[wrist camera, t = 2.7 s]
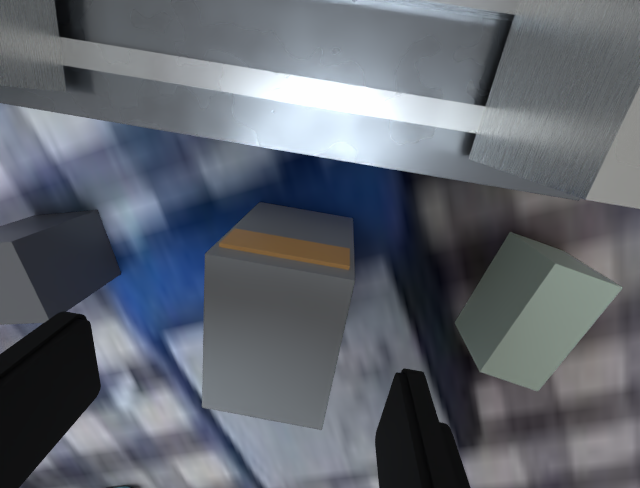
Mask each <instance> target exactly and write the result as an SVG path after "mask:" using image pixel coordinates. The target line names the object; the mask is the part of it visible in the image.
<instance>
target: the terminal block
mask: <svg viewBox="0 0 640 488" xmlns="http://www.w3.org/2000/svg"><path fill="white" fill-rule="evenodd" d="M622 288H623V287H621V286H619V285H618V284H616V283H615V282H613V281H611V280H610V279H608V278H607V277H605V276H603V275H602V274H600V273H598V272H597V271H595V270H594V269H592V268H590V267H589V266H587V265H586V264H584V263H582V262H581V261H579V260H577V259H576V258H574V257H573V256H571V255H569V254H568V253H566V252H565V251H563V250H560V249H557V248H554V247H552V246H549V245H546V244H543V243H540V242H538V241H535V240H532V239H529V238H526V237H524V236H521V235H518V234H515V233H513V232H510V233H509V234H508V236H507V238H506V239H505V241H504V242H503V244H502V246H501V247H500V249H499V251H498V252H497V254H496V256H495V257H494V259H493V260H492V262H491V264H490V265H489V267H488V269H487V270H486V272H485V274H484V275H483V277H482V278H481V280H480V282H479V283H478V285H477V287H476V288H475V290H474V292H473V293H472V295H471V296H470V298H469V300H468V301H467V303H466V305H465V306H464V308H463V310H462V311H461V313H460V314H459V316H458V318H457V319H456V321H455V325H456V327H457V329H458V331H459V333H460V335H461V336H462V338H463V340H464V342H465V344H466V346H467V348H468V350H469V352H470V354H471V356H472V358H473V360H474V362H475V364H476V366H477V367H478V369H479V371H480V372H482V373H485V374H488V375H491V376H494V377H496V378H499V379H502V380H505V381H508V382H511V383H514V384H517V385H520V386H523V387H526V388H529V389H532V390H535V391H539V390H540V388H541V387H542V386H543V385H544V384H545V382H546V381H547V380H548V379H549V377H550V376H551V375H552V374H553V373H554V371H555V370H556V369H557V368H558V366H559V365H560V364H561V363H562V362H563V360H564V359H565V358H566V357H567V356H568V354H569V353H570V352H571V351H572V349H573V348H574V347H575V346H576V345H577V343H578V342H579V341H580V340H581V338H582V337H583V336H584V335H585V334H586V332H587V331H588V330H589V329H590V327H591V326H592V325H593V324H594V323H595V321H596V320H597V319H598V318H599V316H600V315H601V314H602V313H603V312H604V310H605V309H606V308H607V307H608V305H609V304H610V303H611V302H612V301H613V299H614V298H615V297H616V296H617V294H618V293H619V292H620V291H621V290H622Z"/></svg>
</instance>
